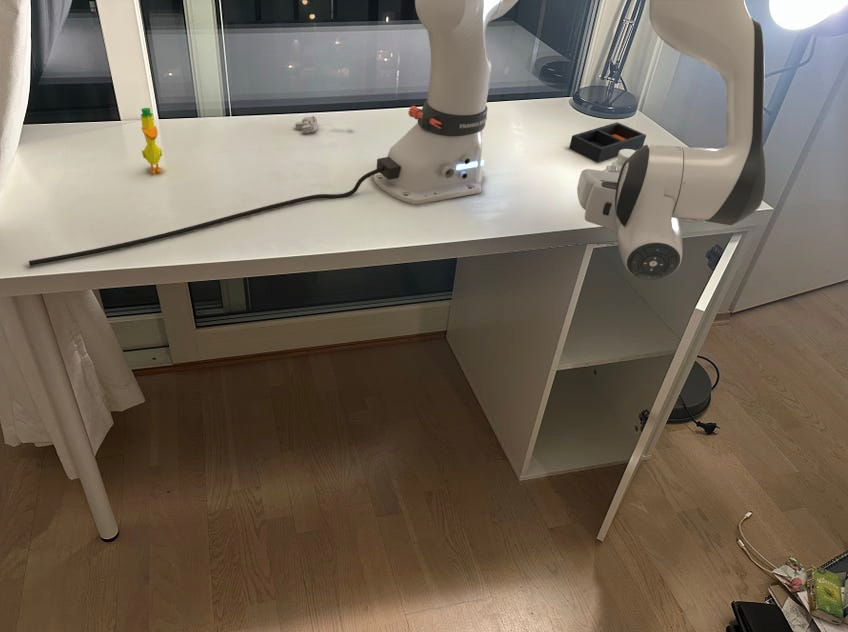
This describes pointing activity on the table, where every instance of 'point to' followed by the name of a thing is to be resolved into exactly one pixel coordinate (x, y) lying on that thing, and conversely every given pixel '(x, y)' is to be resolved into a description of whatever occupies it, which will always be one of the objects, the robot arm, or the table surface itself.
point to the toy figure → (150, 140)
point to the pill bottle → (622, 158)
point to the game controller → (308, 124)
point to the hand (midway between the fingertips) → (638, 173)
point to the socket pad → (606, 141)
